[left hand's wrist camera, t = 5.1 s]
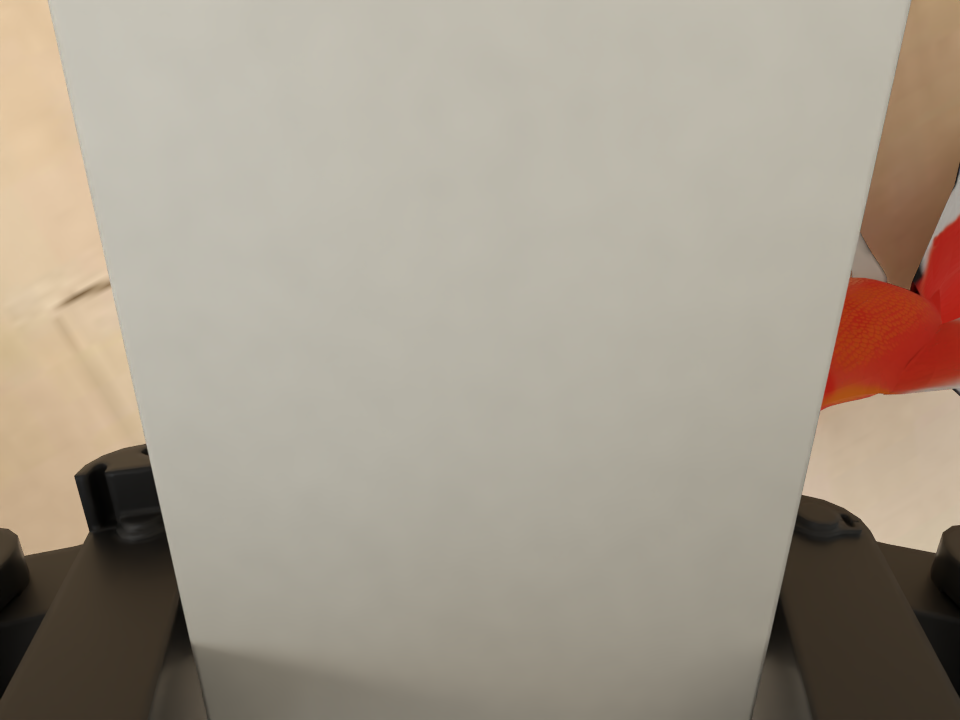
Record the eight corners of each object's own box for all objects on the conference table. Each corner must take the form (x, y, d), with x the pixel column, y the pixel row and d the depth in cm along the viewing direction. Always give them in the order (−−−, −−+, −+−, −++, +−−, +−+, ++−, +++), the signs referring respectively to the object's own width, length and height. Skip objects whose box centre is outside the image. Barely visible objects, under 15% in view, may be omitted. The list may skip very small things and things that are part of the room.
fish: (658, 166, 20) (984, 292, 13) (951, 49, 25) (1309, 94, 17) (646, 399, 27) (855, 567, 20) (878, 273, 31) (1114, 371, 24)
